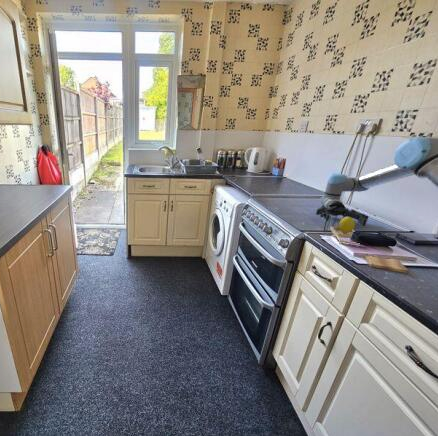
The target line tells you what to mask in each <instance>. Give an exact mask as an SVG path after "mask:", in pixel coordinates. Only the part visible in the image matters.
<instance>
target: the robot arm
mask: <svg viewBox="0 0 438 436" xmlns="http://www.w3.org/2000/svg"><path fill="white" fill-rule="evenodd" d="M393 161H394V163H392V164H390V165H387V166H383V167H380V168H378V169H375V170H373V171H369V172H366V173H364V174H361V175H358V176H356V177H355V176H354V177H348V175H346V174H344V173H336V172H333V173H331V174H330V175H329V176H328V179H327V183H326V187H325V190H324V192H323V195H321V197H320V202H321V203H320V204H321V206H320V207H319V208H317V209H316V212H315V215H319V217H320V218H324V220H325V221H327V222H328V221H329V220H330V217H331V216H333V217H338V216H342V217H344V218H345V217H351V218H352V219H353V220H357V222H358V223H359V224H360V225H361V226H363V227H365V226H366V224H367V222H368V219H369V215H367V214H365V213H362V212H359V211H357V210H355V209H352V208H351V210H350V209H347V208H346V205H345V204H344V203H343V201H341V198H342V194H343V192H358V193H361V192H366V191H369V190H370V189H371V188H374V187H378V186H379V185H383V184H386V183H387V184H388V183H391V182H394V181H397V180H400V179H404V178H407V177H408V178H409V177H411V176H414V175H415V176H416V177H417V178H419V179H427V180H428V181H430V182H431V183H432V184H433V185H434V186H435V187H436V188H438V137H425V136H421V137H413V138H410V139H407V140H405V141H404V142H402V143H400V145H399V146H398V147H397V148H396V150H395V152H394V156H393Z"/></svg>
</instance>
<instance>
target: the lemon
mask: <svg viewBox="0 0 438 436" xmlns="http://www.w3.org/2000/svg"><path fill="white" fill-rule="evenodd" d="M338 227H339V229H340V231H342V232H343V233H348V232H351V231H352V230H354V229H355V227H356V221H355V219H354V218H351V217H345V216H344V217H343V218H341V219H340V221H339V222H338Z"/></svg>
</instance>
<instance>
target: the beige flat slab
mask: <svg viewBox="0 0 438 436" xmlns="http://www.w3.org/2000/svg"><path fill="white" fill-rule="evenodd" d="M329 231H331V233H332V234H333V236H334V237H335V236H336V237H337V239H338V240H339V241H340V242H345V243H352V244H358V245H360V243H356V242H350V241H344V240H341V238H340V237H342V238H350V237H351V236H352V233H353V232H356V231H355V230H354V229H353V230H352V231H351V232H348V233H343V232H342V231H340V229H339V226H332V225H330V228H329ZM336 237H335V238H336ZM337 239H336V240H337Z"/></svg>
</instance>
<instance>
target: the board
mask: <svg viewBox="0 0 438 436" xmlns="http://www.w3.org/2000/svg"><path fill="white" fill-rule="evenodd" d="M365 259H366V260H365ZM364 260H365V261H366V262H367V264H368V265H369V267H372V268H378V269H383V270H388V271H394V272H398V273H399V272H400V273H403V274H409V272H410V270H409V269H408V268H407V267H406V266H405V265H404V264H402V262H401V261H400V260H399V259H396V258H391V259H385V258H378V257H372V256H365V258H364Z"/></svg>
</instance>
